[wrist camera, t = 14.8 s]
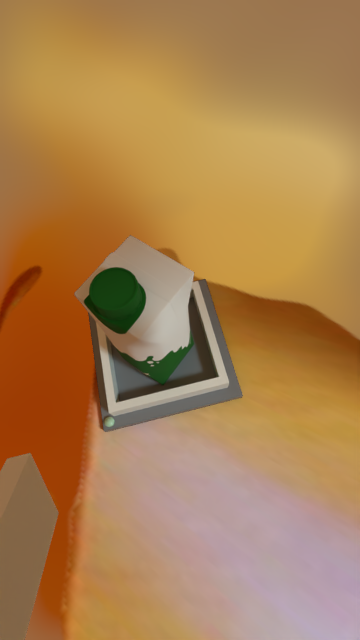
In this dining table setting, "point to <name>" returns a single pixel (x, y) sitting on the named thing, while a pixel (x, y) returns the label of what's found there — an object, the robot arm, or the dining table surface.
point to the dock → (182, 386)
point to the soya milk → (142, 307)
